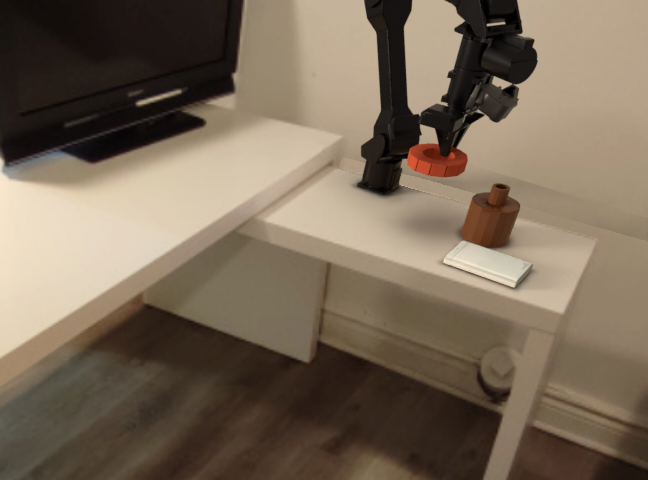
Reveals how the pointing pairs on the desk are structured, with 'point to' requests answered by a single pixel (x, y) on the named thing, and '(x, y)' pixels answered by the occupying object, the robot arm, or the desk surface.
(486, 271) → the hard drive
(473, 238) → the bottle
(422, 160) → the orange faceted ring
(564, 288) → the desk surface
